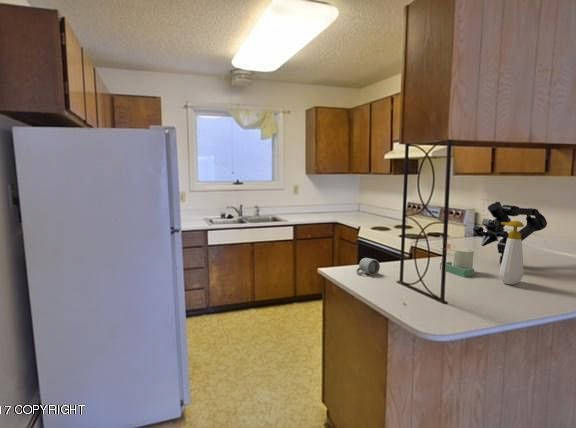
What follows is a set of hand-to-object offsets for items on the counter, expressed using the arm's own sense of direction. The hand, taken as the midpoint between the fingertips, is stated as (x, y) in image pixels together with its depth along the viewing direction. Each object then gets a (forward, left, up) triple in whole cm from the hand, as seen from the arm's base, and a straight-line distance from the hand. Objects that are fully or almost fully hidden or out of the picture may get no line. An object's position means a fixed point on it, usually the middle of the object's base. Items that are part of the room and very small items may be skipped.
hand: (482, 245), depth 185 cm
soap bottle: (-10, +20, -13) cm, 26 cm away
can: (+9, +10, -13) cm, 18 cm away
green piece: (+12, +13, -13) cm, 21 cm away
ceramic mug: (+52, +35, -13) cm, 64 cm away
